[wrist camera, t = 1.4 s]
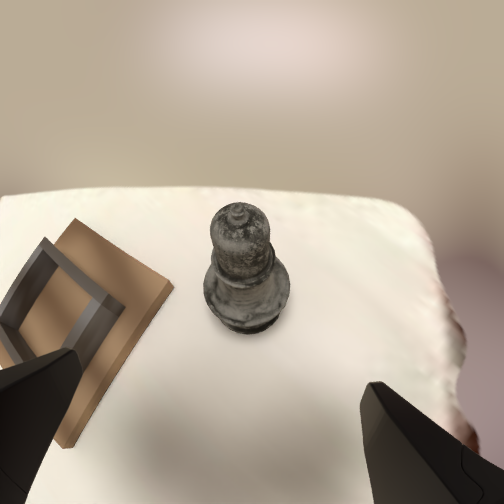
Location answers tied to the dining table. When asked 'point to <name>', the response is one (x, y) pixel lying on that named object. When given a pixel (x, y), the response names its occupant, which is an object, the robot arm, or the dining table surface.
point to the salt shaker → (244, 271)
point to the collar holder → (80, 313)
